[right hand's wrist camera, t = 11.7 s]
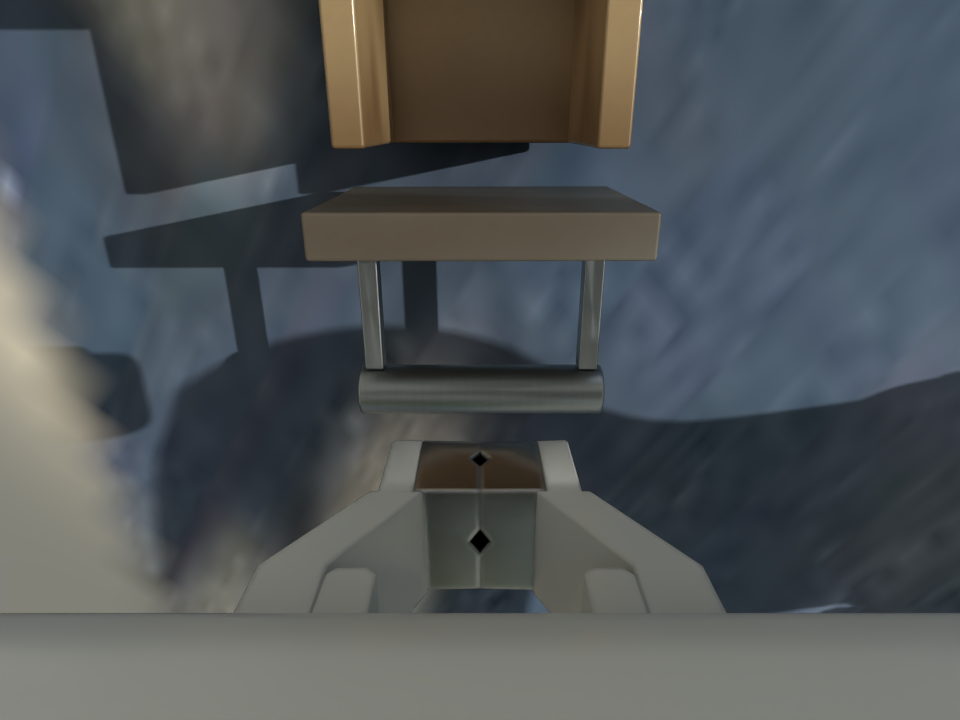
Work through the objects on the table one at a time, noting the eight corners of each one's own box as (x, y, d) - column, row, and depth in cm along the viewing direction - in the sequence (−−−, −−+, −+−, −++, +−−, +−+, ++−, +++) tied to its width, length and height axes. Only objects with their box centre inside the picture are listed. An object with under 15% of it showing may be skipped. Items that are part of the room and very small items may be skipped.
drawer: (594, 371, 23) (635, 459, 17) (368, 371, 23) (327, 460, 17) (653, -416, 15) (773, -792, 9) (306, -415, 15) (186, -788, 9)
